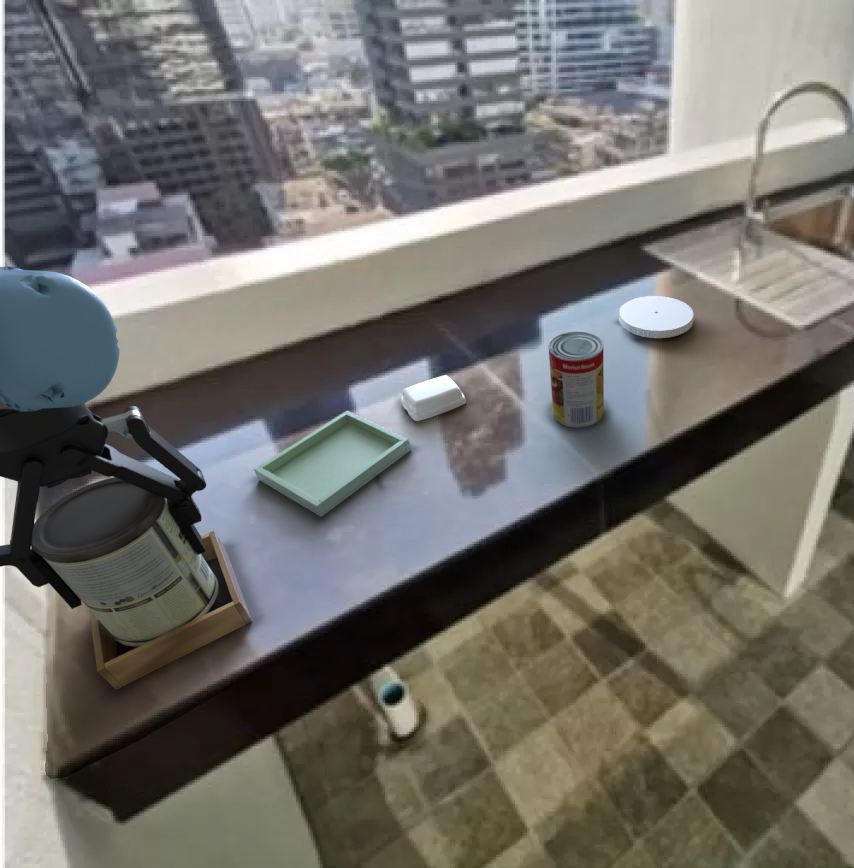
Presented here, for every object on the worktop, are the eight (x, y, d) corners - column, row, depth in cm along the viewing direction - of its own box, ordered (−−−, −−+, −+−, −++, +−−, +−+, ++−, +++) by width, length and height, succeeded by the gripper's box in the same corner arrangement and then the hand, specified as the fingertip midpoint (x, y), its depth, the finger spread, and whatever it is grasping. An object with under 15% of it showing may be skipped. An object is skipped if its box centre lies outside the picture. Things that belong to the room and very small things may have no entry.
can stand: (116, 690, 59) (96, 671, 57) (102, 604, 67) (85, 584, 65) (252, 621, 65) (240, 602, 63) (225, 549, 73) (214, 530, 71)
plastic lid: (611, 338, 111) (612, 326, 110) (627, 304, 122) (627, 292, 120) (687, 347, 109) (688, 334, 107) (696, 311, 119) (697, 299, 118)
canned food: (594, 393, 98) (593, 327, 90) (610, 421, 92) (610, 353, 84) (547, 402, 96) (542, 336, 88) (560, 432, 90) (556, 363, 82)
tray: (321, 517, 77) (316, 506, 76) (258, 480, 82) (253, 469, 81) (411, 449, 87) (408, 439, 86) (350, 420, 93) (347, 410, 91)
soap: (414, 423, 92) (411, 408, 90) (399, 401, 96) (395, 386, 94) (469, 403, 96) (466, 388, 94) (451, 383, 100) (448, 368, 98)
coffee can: (91, 614, 64) (10, 521, 55) (191, 553, 70) (132, 461, 61) (136, 667, 59) (54, 574, 50) (238, 596, 65) (181, 502, 57)
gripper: (161, 325, 55) (250, 500, 69) (-192, 417, 44) (-2, 603, 58) (175, 359, 50) (268, 540, 64) (-216, 471, 39) (-3, 660, 53)
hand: (140, 570), depth 61 cm, fingers closed on coffee can, 10 cm apart
